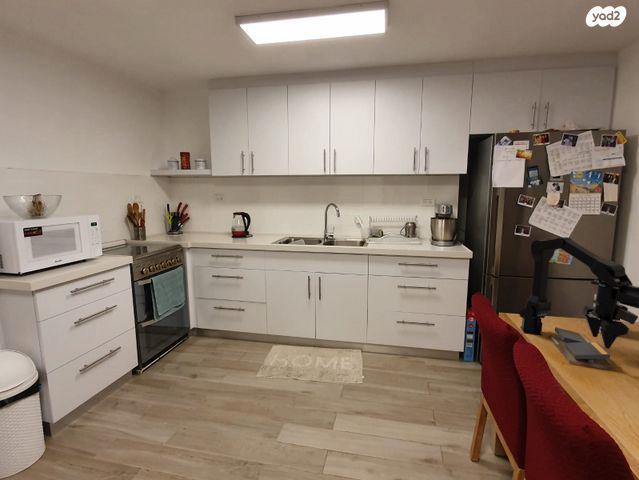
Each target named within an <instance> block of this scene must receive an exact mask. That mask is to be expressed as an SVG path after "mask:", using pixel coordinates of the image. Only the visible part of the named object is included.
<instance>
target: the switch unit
mask: <svg viewBox="0 0 639 480" xmlns="http://www.w3.org/2000/svg"><path fill="white" fill-rule="evenodd" d="M548 338H549V339H550V341H551V342H552V343H553V345H554V346H555V348H557V350H558V351H559V353H560V354H561V355H562V356H563V358H564V359H565V360H566V362H567V363H568V364H570V365H577V366H584V367H589V368H590V367H592V368H598V369H603V370H604V369H606V370H610V371H611V370H612V371H615V370H616V366H615V365H614V364H613V363H612V362H611V361H610V359H575V358H574V357H573V356H572V354H571V353H570V352H569V351H568V350H567V349H566V347H565V346H564V343H570V342H567V341H563V340H562V338H561V337H560V336H559V335H551V334H549V335H548Z"/></svg>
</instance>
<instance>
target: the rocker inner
mask: <svg viewBox="0 0 639 480" xmlns="http://www.w3.org/2000/svg"><path fill="white" fill-rule="evenodd" d="M554 331H555V333H556V334H557V336H560V337H561V338H562V340H563V341H567V342H570V343H573V342H592V340H590V339H589V338H588V337H587V336H586V334H584V333H580V332H576V331H573V330H569V329H568V330H567V329H565V328H561V327H557V326H555V328H554Z"/></svg>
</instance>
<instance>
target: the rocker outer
mask: <svg viewBox="0 0 639 480" xmlns="http://www.w3.org/2000/svg"><path fill="white" fill-rule="evenodd" d="M564 346H565V347H566V349H567V350H568V351H569V352H570V353H571V354H572V356H573V357H574V358H575V359H608V360H610V359H611V354H610V353H609V352H608V351H606V349H605V348H603V347H602V345H600V344H599V343H598V342H597V341H591V342H573V343H564Z"/></svg>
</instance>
